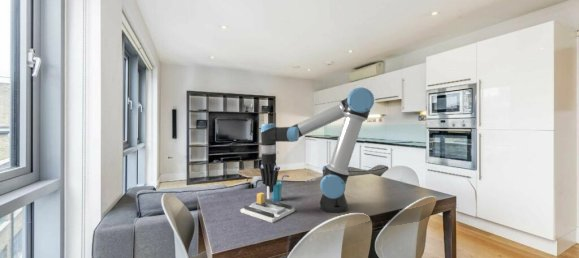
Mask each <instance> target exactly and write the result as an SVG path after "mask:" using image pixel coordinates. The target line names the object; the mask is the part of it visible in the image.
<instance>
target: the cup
mask: <svg viewBox="0 0 579 258" xmlns="http://www.w3.org/2000/svg"><path fill="white" fill-rule="evenodd" d="M284 177H285V178H286V177H287V178H289V177H290V175H287V174H283V175H282V177H281V180H280V181H279V180H277V183H276V185H274V186H273V192H272V193H273V198H271V201H275V202H281V200H282V190H283V183H284V182H283V180H284Z"/></svg>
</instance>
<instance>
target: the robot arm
mask: <svg viewBox="0 0 579 258" xmlns="http://www.w3.org/2000/svg"><path fill="white" fill-rule="evenodd" d="M374 105H375V97H374V94H373V92H372V91H371V90H370V89H368V88H365V87H356V88H353V89H352V90H351V91H350V92H349V94H348V95H347V97H346V98H344V99H342V100H340V101H339V103H338V104H336V105H333V106H331V107H330V108H328V109H325V110H324V111H322V112H319V113H317V114H315V115H312V116H311V117H308V118H306V119H304V120H302V121H300V122H298V123H296V124H293V125H292V126H276V124H275V123H262V124H261V127H260V139H261V144H260V145H261V146H260V147H261V148H260V149H261V161H262V164H261V165H258V169H259V170H260V175H261V176H260V177H261V181H262V184H263V185H265V191H266V199H267V200H270V199H271V200H272V198H273V193H272V192H273V186H274V185H276V183H277V181H278V177H279V171H280V169H281V168H280V166H278V165H277V163H276V161H277V144H276V143H278V142H279V143H280V142H281V143H282V142H283V143H292V142H293V143H294V142H298V141H299V138H302V137H303V136H305V135H307V134H310V133H313V132H314V131H317V130H319V129H321V128H323V127H325V126H327V125H330V124H332V123H334V122H337V121H339V120H342V119H343V123H342V125H341V129H340V132H339V135H338V137H337V140H336V144H335V147H334V150H333V152H332V156H331V159H330V162H329V164H327V165H323V167H322V177H321V180H320V183H319V187H320V191H321V193H322V195H321V197H320V201H319V209H321V210H323V211H324V212H329V213H343V212H346V211H347V210H348V207H349V206H348V201H347V198H346V196H345V192H346V185H347V181H348V179H349V176H350V173H349V170H348V167H349V165H350V162H351V158H352V155H353V153H354V150H355V147H356V143H357V141H358V139H359V138H358V137H359V135H360V131H361V129H362V126H363V123H364V122H366V121H367V120H368V117H369V115H370V112H371V109H372V108H373V107H374Z"/></svg>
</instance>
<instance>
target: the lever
mask: <svg viewBox="0 0 579 258" xmlns="http://www.w3.org/2000/svg"><path fill="white" fill-rule="evenodd" d="M265 195H266V194H265V193H264V192H259V193H256V202H257V203H256V202H255V203H256V205H259V206H263V207H265V199H266V198H265V197H266V196H265Z"/></svg>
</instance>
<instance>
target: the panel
mask: <svg viewBox="0 0 579 258" xmlns="http://www.w3.org/2000/svg"><path fill="white" fill-rule="evenodd" d="M256 203H257V201H256V202H253V203H251V204H250V205H243V208H240V213H242V214H245V215H247V216H251V217H254V218H256V219H260V220H264V221H265V222H268V223H275V222H277V221H279V220H280V219H282V218H285V217H286V216H289V215H290V214H292V213H294V212H296V211H295V210H296V208H295V207H293V206H292V204H291V205H290V204H286V203H283V202H280V201H272V199H271V200H270V199H267V198H265V207H263V206H259V205H256Z"/></svg>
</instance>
